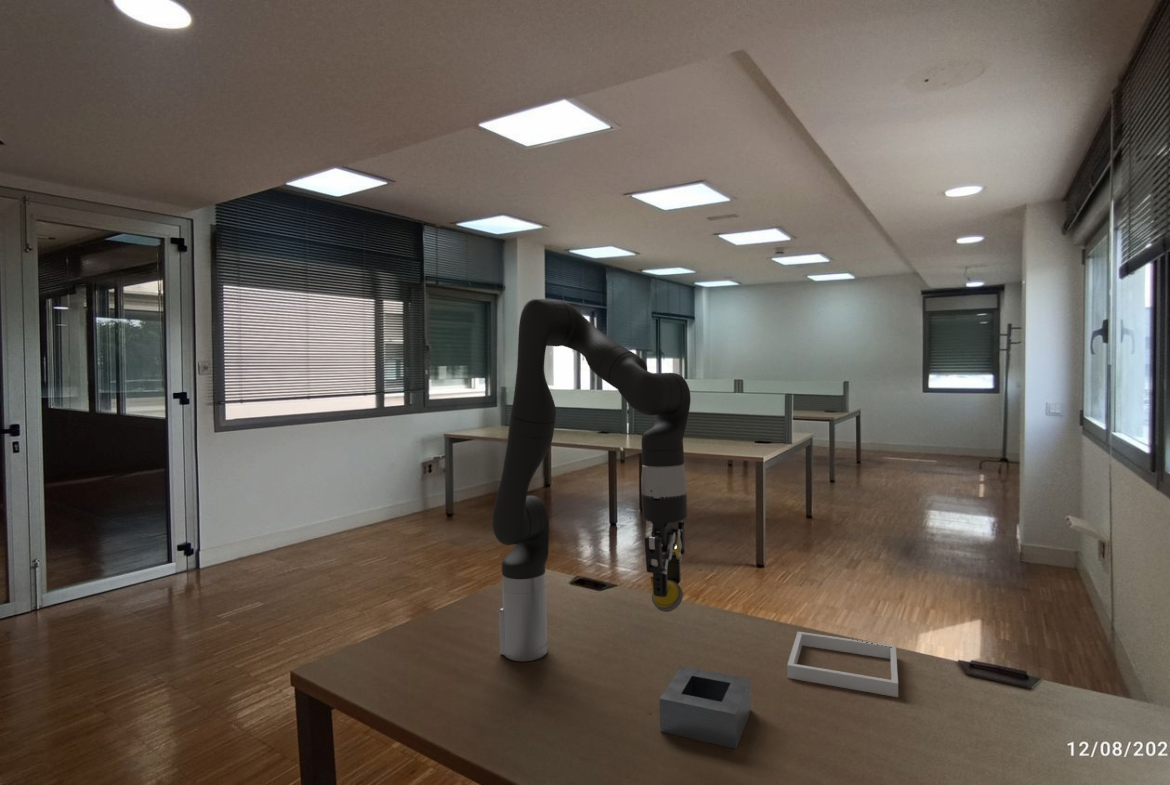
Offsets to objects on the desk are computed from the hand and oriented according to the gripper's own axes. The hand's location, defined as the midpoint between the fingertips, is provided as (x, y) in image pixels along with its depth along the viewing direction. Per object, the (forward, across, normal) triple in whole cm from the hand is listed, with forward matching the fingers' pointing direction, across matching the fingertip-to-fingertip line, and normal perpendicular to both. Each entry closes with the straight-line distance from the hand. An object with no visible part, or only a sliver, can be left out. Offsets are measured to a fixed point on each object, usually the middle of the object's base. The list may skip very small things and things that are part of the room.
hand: (667, 589), depth 106 cm
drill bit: (+4, 0, 0) cm, 4 cm away
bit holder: (+22, -2, +5) cm, 23 cm away
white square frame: (+23, -32, +25) cm, 46 cm away
